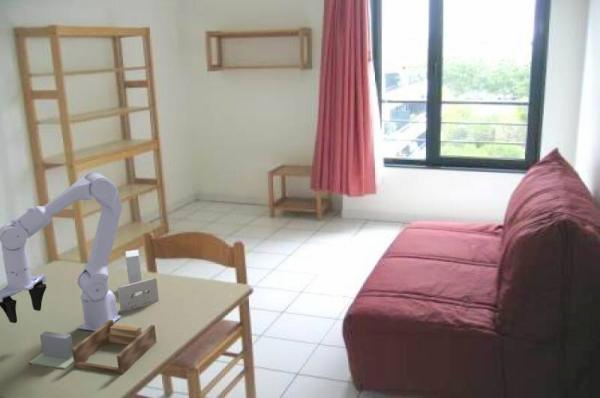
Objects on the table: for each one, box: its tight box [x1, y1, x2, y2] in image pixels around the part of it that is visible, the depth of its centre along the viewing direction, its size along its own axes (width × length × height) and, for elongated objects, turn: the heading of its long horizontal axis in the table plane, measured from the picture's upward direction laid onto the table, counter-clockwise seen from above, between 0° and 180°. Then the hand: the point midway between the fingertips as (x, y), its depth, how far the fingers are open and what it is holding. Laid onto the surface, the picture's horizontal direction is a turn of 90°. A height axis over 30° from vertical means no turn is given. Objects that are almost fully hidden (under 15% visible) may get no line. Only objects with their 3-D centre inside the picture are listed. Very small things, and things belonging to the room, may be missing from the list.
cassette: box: [117, 277, 160, 312], centre depth 179 cm, size 12×2×8 cm, turn 124°
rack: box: [72, 320, 157, 375], centre depth 152 cm, size 16×14×5 cm
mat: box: [29, 346, 75, 370], centre depth 152 cm, size 9×11×1 cm
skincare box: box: [124, 249, 143, 284], centre depth 192 cm, size 6×4×12 cm
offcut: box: [108, 322, 143, 345], centre depth 158 cm, size 2×9×4 cm, turn 74°
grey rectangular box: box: [39, 331, 74, 360], centre depth 151 cm, size 2×8×6 cm, turn 73°
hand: (25, 315), depth 157 cm, fingers open, 7 cm apart
